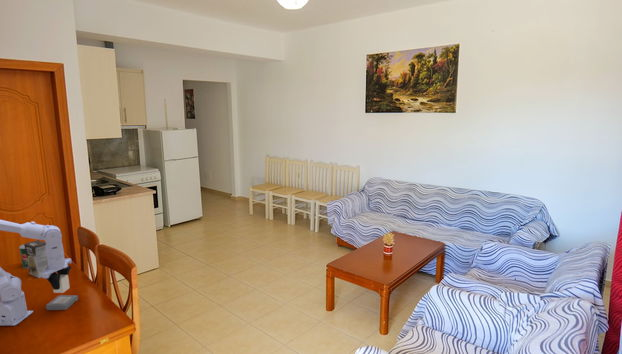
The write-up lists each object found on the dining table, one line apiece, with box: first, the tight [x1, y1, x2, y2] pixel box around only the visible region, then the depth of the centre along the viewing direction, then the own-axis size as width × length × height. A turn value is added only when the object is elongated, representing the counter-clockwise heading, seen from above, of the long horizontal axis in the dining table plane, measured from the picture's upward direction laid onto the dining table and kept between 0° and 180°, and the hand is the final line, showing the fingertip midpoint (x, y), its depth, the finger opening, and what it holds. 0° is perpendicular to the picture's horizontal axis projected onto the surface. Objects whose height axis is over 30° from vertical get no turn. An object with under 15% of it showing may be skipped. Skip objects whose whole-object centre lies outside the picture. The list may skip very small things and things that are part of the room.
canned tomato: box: [18, 244, 29, 269], centre depth 192 cm, size 8×8×11 cm
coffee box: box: [23, 239, 49, 279], centre depth 181 cm, size 9×6×16 cm
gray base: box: [45, 294, 79, 311], centre depth 155 cm, size 8×8×2 cm
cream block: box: [52, 274, 70, 294], centre depth 153 cm, size 4×4×6 cm
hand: (60, 286), depth 153 cm, fingers closed on cream block, 4 cm apart
